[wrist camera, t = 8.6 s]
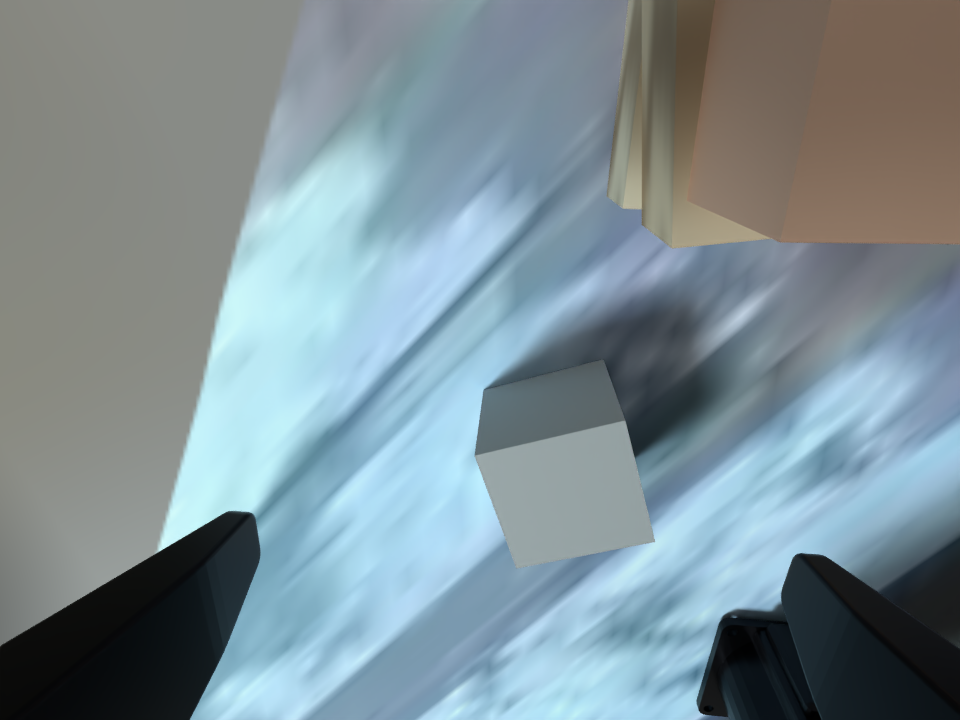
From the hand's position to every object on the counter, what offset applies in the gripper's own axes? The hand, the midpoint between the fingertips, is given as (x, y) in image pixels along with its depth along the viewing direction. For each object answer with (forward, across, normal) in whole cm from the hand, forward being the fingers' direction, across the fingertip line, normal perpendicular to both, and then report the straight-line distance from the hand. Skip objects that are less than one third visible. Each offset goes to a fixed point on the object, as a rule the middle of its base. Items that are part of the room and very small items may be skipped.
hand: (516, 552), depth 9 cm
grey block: (+13, -2, +5) cm, 14 cm away
